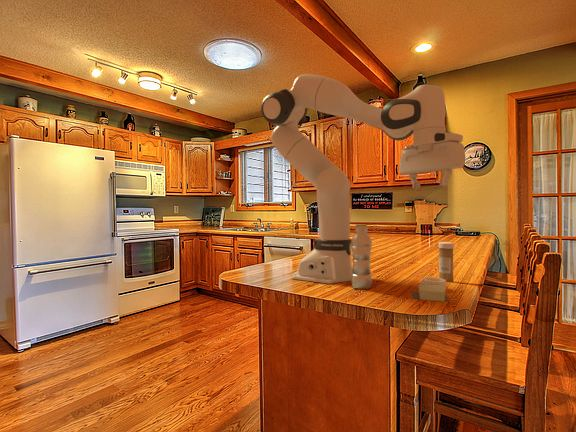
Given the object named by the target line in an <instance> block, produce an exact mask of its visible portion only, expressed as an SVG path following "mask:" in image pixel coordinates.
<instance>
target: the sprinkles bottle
mask: <svg viewBox="0 0 576 432" xmlns="http://www.w3.org/2000/svg"><path fill="white" fill-rule="evenodd" d="M454 248H455V245H454V242H452V241H451V242H450V241H439V242H438V249H439V250H438V255H439V256H438V274H439V275H438V278H442V279H445V280H446V283H451V284H452V283H454Z"/></svg>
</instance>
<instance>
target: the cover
mask: <svg viewBox="0 0 576 432" xmlns="http://www.w3.org/2000/svg"><path fill="white" fill-rule="evenodd" d="M418 292H419V296H420V299H422V300H421V301H431V300H434V301H435V302H443V301H445V295H446V291H444V290H443V288H442V286H440V285H425V284H422V283H418ZM420 299H419V300H420ZM434 301H433V302H434Z"/></svg>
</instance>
